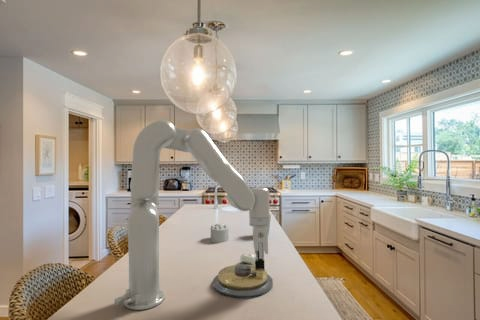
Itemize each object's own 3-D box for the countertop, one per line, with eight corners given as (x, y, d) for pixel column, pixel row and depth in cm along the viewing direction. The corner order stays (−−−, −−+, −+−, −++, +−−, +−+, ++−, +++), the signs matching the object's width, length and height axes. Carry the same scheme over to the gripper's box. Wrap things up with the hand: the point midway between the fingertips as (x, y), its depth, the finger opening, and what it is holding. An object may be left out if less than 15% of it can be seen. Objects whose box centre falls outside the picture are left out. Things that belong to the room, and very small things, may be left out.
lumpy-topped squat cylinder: (229, 236, 176) (228, 222, 176) (228, 242, 163) (227, 227, 163) (211, 237, 176) (211, 222, 176) (209, 243, 163) (209, 227, 163)
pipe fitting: (249, 260, 136) (240, 263, 131) (249, 251, 136) (240, 254, 131) (263, 264, 130) (254, 267, 125) (263, 255, 131) (254, 258, 126)
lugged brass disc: (214, 289, 100) (213, 273, 100) (222, 270, 118) (222, 256, 118) (266, 291, 98) (266, 275, 98) (267, 271, 116) (267, 257, 116)
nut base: (250, 304, 93) (250, 294, 93) (200, 287, 106) (200, 278, 106) (283, 281, 110) (283, 272, 110) (236, 268, 123) (236, 261, 123)
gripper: (272, 225, 101) (272, 278, 101) (267, 217, 116) (267, 263, 116) (250, 225, 101) (250, 278, 100) (248, 217, 116) (249, 263, 115)
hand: (259, 270), depth 108 cm, fingers closed
